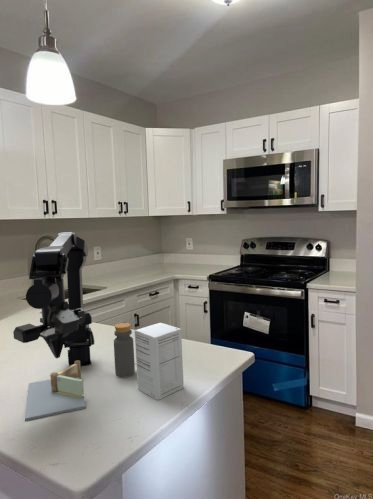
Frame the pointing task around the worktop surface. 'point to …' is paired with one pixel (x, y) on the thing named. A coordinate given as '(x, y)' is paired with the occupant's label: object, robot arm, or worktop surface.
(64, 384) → the fence panel
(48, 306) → the robot arm
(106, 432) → the worktop surface
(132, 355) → the bottle
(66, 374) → the wooden wall with posts
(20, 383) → the worktop surface
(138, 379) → the supplement box
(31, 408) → the board
